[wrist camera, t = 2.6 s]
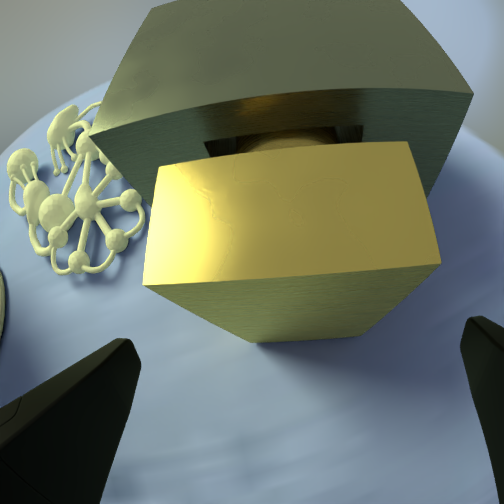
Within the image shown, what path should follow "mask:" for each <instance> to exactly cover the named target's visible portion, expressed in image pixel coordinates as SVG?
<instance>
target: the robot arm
mask: <svg viewBox="0 0 504 504" xmlns="http://www.w3.org/2000/svg"><path fill="white" fill-rule="evenodd" d="M460 350H461V354H462V358H463V362H464V366H465V369H466V373H467V377H468V382H469V386H470V390H471V394H472V398H473V401H474V404H475V407H476V411H477V414H478V417H479V420H480V423H481V427H482V430H483V434H484V437H485V441H486V444H487V448H488V452H489V456H490V460H491V464H492V469H493V473H494V478H495V483H496V488H497V493H498V498H499V504H504V328H503V327H502V326H500V325H498V324H496V323H494V322H492V321H491V320H489V319H487V318H485V317H483V316H474V317H470V318H468V319H467V321H466V324H465V328H464V331H463V335H462V339H461V342H460ZM140 371H141V361H140V358H139V356H138V354H137V351H136V349H135V347H134V344H133V342H132V341H131V340H130V339H127V338H117V339H115V340H113V341H111V342H110V343H108V344H106V345H105V346H103V347H101V348H100V349H98V350H96V351H95V352H93V353H92V354H90V355H88V356H87V357H85V358H83V359H82V360H80V361H78V362H77V363H75V364H73V365H72V366H70V367H68V368H67V369H65V370H63V371H62V372H60V373H59V374H57V375H55V376H54V377H52V378H50V379H49V380H47V381H45V382H44V383H42V384H40V385H39V386H37V387H35V388H34V389H32V390H30V391H29V392H27V393H25V394H24V395H23V396H20V397H19V398H17V399H15V400H14V401H12V402H10V403H9V404H7V405H5V406H3V407H2V408H0V504H100V501H101V498H102V494H103V491H104V488H105V485H106V482H107V478H108V475H109V472H110V469H111V466H112V463H113V460H114V457H115V454H116V451H117V448H118V445H119V442H120V439H121V437H122V434H123V431H124V428H125V425H126V422H127V420H128V417H129V414H130V410H131V406H132V402H133V398H134V394H135V390H136V386H137V382H138V378H139V375H140Z"/></svg>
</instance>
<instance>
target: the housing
mask: <svg viewBox="0 0 504 504" xmlns="http://www.w3.org/2000/svg"><path fill="white" fill-rule="evenodd" d="M473 95H474V93H473V91H472V90H471V88H470V87H469V85H468V84H467V82H466V81H465V79H464V78H463V76H462V75H461V73H460V72H459V70H458V69H457V68H456V66H455V65H454V64H453V62H452V61H451V59H450V58H449V57H448V55H447V54H446V53H445V51H444V50H443V49H442V48H441V46H440V45H439V44H438V43H437V41H436V40H435V39H434V38H433V36H432V35H431V34H430V33H429V32H428V30H427V29H426V28H425V27H424V26H423V24H422V23H421V22H420V21H419V20H418V19H417V18H416V17H415V15H413V13H412V12H411V11H410V10H409V9H408V8H407V7H406V6H405V5H404V4H403V3H402V2H401V1H400V0H177V1H174V2H171V3H167V4H164V5H161V6H157V7H154V8H152V9H151V10H150V12H149V14H148V15H147V17H146V19H145V20H144V22H143V24H142V25H141V27H140V28H139V30H138V32H137V34H136V35H135V37H134V39H133V41H132V42H131V44H130V46H129V48H128V50H127V52H126V54H125V56H124V57H123V59H122V61H121V63H120V65H119V67H118V69H117V71H116V73H115V75H114V77H113V79H112V81H111V83H110V85H109V88H108V90H107V92H106V94H105V96H104V99H103V101H102V103H101V105H100V108H99V110H98V112H97V115H96V117H95V120H94V122H93V125H92V127H91V130H90V132H89V135H88V136H89V138H90V139H91V140H92V141H93V142H94V143H95V145H96V146H97V147H98V148H99V149H100V150H101V152H102V153H103V154H104V155H105V156H106V157H107V158H108V160H109V161H110V162H111V163H112V164H113V165H114V166H115V168H116V169H117V170H118V171H119V172H120V173H121V174H122V175H123V177H124V178H125V179H126V180H127V181H128V182H129V183H130V184H131V186H132V187H133V188H134V189H135V190H136V191H137V192H138V193H139V194H140V196H141V197H142V198H143V199H144V200H145V201H146V202H147V203H148V204H149V205H150V207H151V208H152V206H153V200H154V194H155V188H156V182H157V176H158V171H159V167H161V166H167V165H172V164H177V163H183V162H189V161H195V160H201V159H207V158H213V157H220V156H227V155H234V154H236V136H242V135H250V134H257V133H265V132H274V131H283V130H293V129H304V128H316V127H330V126H335V128H336V132H337V136H338V141H339V144H345V143H366V142H403V141H407V142H408V145H409V148H410V150H411V153H412V156H413V159H414V162H415V165H416V168H417V171H418V174H419V177H420V180H421V184H422V187H423V190H424V194H425V197H426V199H427V197H428V195H429V193H430V191H431V189H432V187H433V185H434V183H435V181H436V179H437V177H438V175H439V173H440V171H441V169H442V167H443V165H444V163H445V161H446V159H447V156H448V154H449V152H450V150H451V148H452V146H453V143H454V141H455V139H456V137H457V134H458V132H459V130H460V127H461V125H462V123H463V120H464V118H465V115H466V113H467V111H468V108H469V105H470V103H471V100H472V98H473Z"/></svg>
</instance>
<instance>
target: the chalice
mask: <svg viewBox="0 0 504 504" xmlns="http://www.w3.org/2000/svg"><path fill="white" fill-rule="evenodd" d="M4 316H5V287H4V282H3V277H2V274H1V271H0V339H1V334H2V330H3V322H4Z"/></svg>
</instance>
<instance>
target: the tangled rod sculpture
mask: <svg viewBox="0 0 504 504" xmlns="http://www.w3.org/2000/svg"><path fill="white" fill-rule="evenodd" d="M101 103H102V101H100V102H97V103H94V104H92V105H90V106H89V107H87V108H86V109H85V110H84V111H83V112H82V113H81V114H80V115H79V116H78V112H79V109H78V107H77V106H76V105H70V106H68V107H67V108H65V109H64V110H62V111H61V112H59V113H58V114H57V115H56V117H55V118H54V120H53V122H52V124H51V125H50V127H49V129H48V132H47V140H48V143H49V144H50V147H51V155H52V160H53V164H54V167H55V170H54V172H53V174H54V176H58V175H59V174H60V170H59V169H58V165H57V162H56V158H55V152H54V149H56V150H57V151H58V154H59V158H60V161H61V164H62V167H61V172H62V173H66V172H67V171H68V167H67V166H66V165H65V162H64V159H63V156H62V152H61V150H64V149H66V150H67V152H68V153H69V154H70V156H71V160H72V161H73V162H75V165H74V167H73V169H72V171H71V173H70V176H69V178H68V180H67V182H66V185H65V187H64V189H63V192H62V194H52V195H50V191H49V188H48V187H47V185H46V184H45V183H44V182H42V181H40V180H38V177H37V171H38V159H37V156H36V154H35V153H34V152H33V151H31V150H30V149H26V148H23V149H19V150H17V151H15V152H14V153H13V154H12V155H11V157H10V158H9V160H8V163H7V173H8V175H9V178H10V179H11V184H10V190H9V202H10V206H11V208H12V209H13V210H14V211H15V212H16V213H17V214H18V215H20V216H25V215H26V214H27V220H28V223H29V237H30V241H31V243H32V245H33V247H34V250H35V252H36V254H37V255H39V256H42V257H44V256H50V255H51V264H52V267H53V270H54V271H55V272H56V273H57V274H58V275H69V274H70V273H72V272H74V273H76V274H83V273H85V272H88V273H92V274H94V273H98V272H102V271H104V270H105V269H106V268H108V267H109V265H110V264H111V263H112V261H113V260H114V258H115V255H116V253H119V252H122V251H123V250H125V249H126V247H127V245H128V240H129V239H128V238H130V237H132V236H134V235H135V234H136V233H137V232H139V231H140V230H141V229H142V227H143V225H144V223H145V212H144V210H143V208H142V207H141V202H142V198H141V196H140V194H139V193H138V192H137V191H136V190H134V189H128V190H126V191H124V192H123V193H122V194H121V197H116V198H111V199H106V200H101V201H99V200H98V199H97V197H98V196H99V195H100V194H101V192H102V191H103V190H104V189H105V187H106V186H107V185H108V184H109V183H110V181H111V180H118V179H120V178H122V177H123V175H122V174H121V173H120V172H119V171H118V170H117V169H116V168H115V166H114V165H113V164H112V163H111V162H110V161H109V160H108V158H107V157H106V156H105V155H104V154H103V153H102V152H101V150H100V149H99V148H98V147H97V146H96V145H95V143H94V142H93V141H92V140H91V139H90V138H89V136H88V135H89V132H90V130H91V125H90V124H89V122H87V121H85V120H81V121H79V120H80V119H81V118H83V117H84V116H85V115H86V114H87V113H88V112H89V111H90V110H91V109H93V108H95V107H98V106H100V105H101ZM81 127H83V128H84V132H82V133H81V134H80V136H79V137H78V139H77V142H76V151H77V154H78V155H79V156H78V155H77V154H74V153H73V152H72V151H71V150H70V148H69V147H70V146H71V145H72V144H73V142H74V138H75V130H76V129H78V128H81ZM98 158H100V161H101V162H102V163H103V164H105V165H106V169H105V170H106V174H107V175H106V176H105V178H104V179H103V180H102V181H101V182H100V184H99V185H98V186H97V187H96V188H95V190H94V191H93V192H92V190H91V187H90V186H89V176H90V167H91V161H94V160H97V159H98ZM83 159H84V160H85V164H84V172H83V181H82V184H81V185H80V187H79V189H78V191H77V193H76V195H75V206H74V204H73V202H72V201H71V199H70V198H68V197H67V196H68V193H69V191H70V188H71V186H72V184H73V181H74V179H75V177H76V174H77V172H78V170H79V168H80V165H81V163H82V161H83ZM33 178H35V180H34V181H31V180H32V179H33ZM26 183H28V184H27V186H26V187H25V186H24V184H26ZM16 184H19V185H20V186H21V187H22V188H23V190H24V194H23V199H24V204H25V207H23V208H21V207H19V206H18V205H17V203H16V201H15V190H16ZM116 205H121V207H122V208H123V209H124V210H126V211H129V212H133V211H136V210H138V213H139V215H140V221H139V222H138V224H137V226H136V227H134V228H133V229H132V230H131V231H129V232H126V233H125V232H124V231H123V230H121V229H113V230H111V228H110V227H109V225H108V224H107V222H106V221H105V219H104V218H103V216H102V215H101V209H102V208H105V207H111V206H116ZM75 208H76V209H75ZM77 217H80V218H81V219H82V220H84V222H83V226H82V230H81V235H80V239H79V244H78V248H77V251H74V252H73V253H72V254H71V255H70V256H69V260H68V264H69V268H68V269H66V270H61V269H59V268H58V266H57V264H56V251H57V248H62V247H64V246H65V245H66V243H67V241H68V233H67V231H68V230H69V229H70V228H71V227H72V225H73V223H74V221H75V219H76V218H77ZM93 220H95V221H96V222H97V224H98V225H99V227H100V228H101V230H102V232H103V233H104V235H105V236H106V246H107V248H108V249H109V250H110V251H111V253H110V255H109V256H108V258H107V260H106V261H105V262H104V263H103V264H102V265H100V266H99V267H90V259H89V256H88V255H87V254H86V252H84V251H85V246H86V242H87V237H88V233H89V228H90V224H91V221H93ZM39 224H41V225H42V227H43V228H44V229H45V230H46V231H47V232H49V234H48V241H49V243H50V245H49V246H48V247H46V248H44V247H41V244H40V242H39V240H38V238H37V234H36V226H38V225H39Z"/></svg>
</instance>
